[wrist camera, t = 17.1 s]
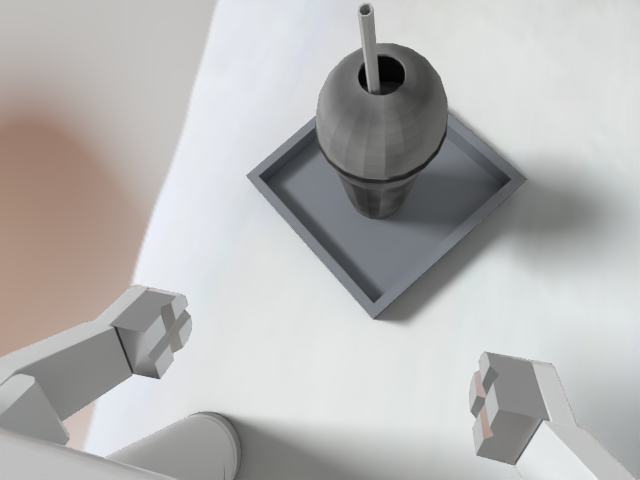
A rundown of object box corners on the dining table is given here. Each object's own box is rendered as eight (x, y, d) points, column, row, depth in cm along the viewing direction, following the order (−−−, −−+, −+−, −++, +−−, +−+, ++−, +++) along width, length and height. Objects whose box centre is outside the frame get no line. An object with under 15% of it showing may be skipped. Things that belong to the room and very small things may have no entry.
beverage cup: (437, 180, 31) (547, -64, 11) (390, 252, 30) (425, 118, 11) (364, 141, 32) (352, -129, 13) (318, 207, 32) (235, 23, 12)
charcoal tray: (382, 76, 35) (383, 57, 32) (515, 190, 30) (527, 179, 28) (255, 186, 34) (246, 175, 31) (373, 319, 30) (373, 318, 27)
